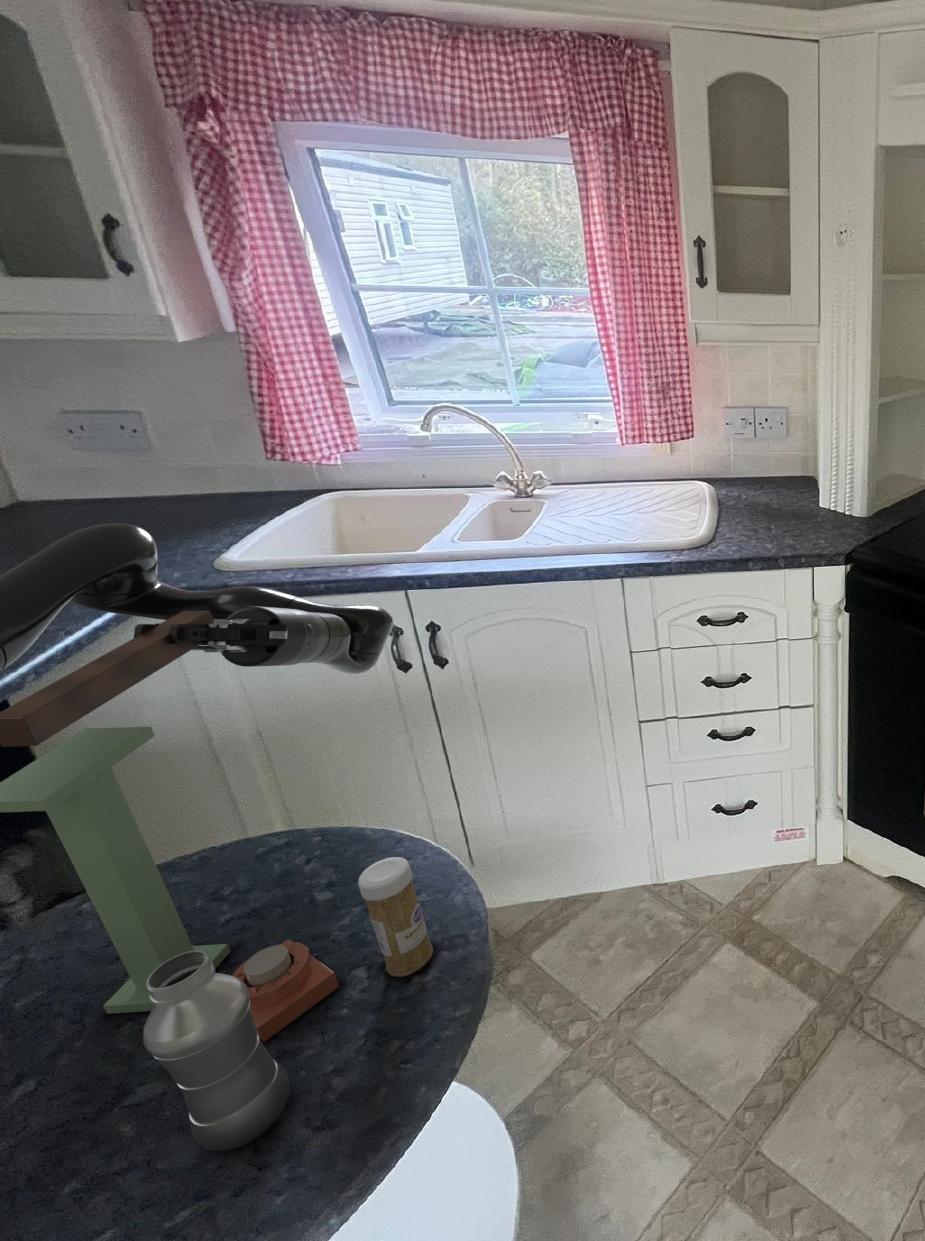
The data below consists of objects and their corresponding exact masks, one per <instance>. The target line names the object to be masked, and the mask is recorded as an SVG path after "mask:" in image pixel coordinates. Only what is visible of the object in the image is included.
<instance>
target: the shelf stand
mask: <svg viewBox="0 0 925 1241" xmlns="http://www.w3.org/2000/svg"><path fill="white" fill-rule="evenodd" d="M155 736H156V735H155V733H154V730H153V729H152V727H151V726H126V727H125V726H124V727H94V728H93V727H86V728H84V729H83V730H81V731H80V732H78V733H76V734H74V735H73V736H71V737H70V738H68V739H67V740H65V741H63V742H62V743H60V744H58V745H57V746H56V747H54V748H53V749H51V750H49V751H48V752H46V753H44V754H43V755H42V756H40V757H38V758H37V759H35V760H33V761H32V762H30V763H28V764H27V765H26V766H24V767H22V768H21V769H20V770H18V771H16V772H15V773H13V774H11V775H10V776H8V777H7V778H5V779H3V780H2V781H0V813H22V812H23V813H24V812H46V814H47V816H48V818H49V820H50V822H51V824H52V826H53V829H54V830H55V833H56V834H57V836H58V838H59V840H60V842H61V844H62V846H63V847H64V849H65V852H66V853H67V855H68V857H69V859H70V861H71V863H72V865H73V868H74V869H75V872H76V873H77V875H78V878H79V879H80V881H81V883H82V885H83V887H84V889H85V891H86V893H87V895H88V897H89V899H90V901H91V903H92V904H93V906H94V909H95V911H96V912H97V915H98V916H99V918H100V920H101V922H102V925H103V926H104V928H105V930H106V932H107V935H108V936H109V938H110V940H111V942H112V945H113V946H114V948H115V950H116V952H117V954H118V957H119V958H120V960H121V962H122V964H123V966H124V967H125V970H126V971H127V974H128V976H129V979H128V980H127V981H126V982H125V983H124V984H123V985H122V986H121V987H120V988H119V989H118V990H117V991H116V992H115V993H114V994H113V995H112V996H111V997H110V998H109V999H108V1000H107V1001H106V1002H105V1003H104V1004H103V1005H102V1007H103V1009H104V1011H105V1012H106V1014H108V1015H110V1014H124V1013H125V1014H126V1013H127V1014H128V1013H141V1012H151V1011H152V1009H153V1008H154V1006H155V1005H153V1004H152V1002H151V1000H150V993H149V991H148V989H147V985H146V983H147V979H148V977H149V976H150V974H151V973H152V972H153V971H154V970H155V969H156V968H157V967H159V966H160V965H161V964H163V963H164V962H166V961H167V960H169V959H171V958H173V957H175V956H177V955H180V954H182V953H185V952H189V951H196V950H198V951H203V952H205V953H206V954H207V955H208V957H209V960H210V962H211V963H213V965H214V968H215V970H216V969H217V968H218V967H219V965H221V963H222V962H223V961H224V959H225V958H226V957H227V956H228V955H229V954H230V953H231V949H230V946H229V944H228V943H223V944H222V943H220V944H219V943H218V944H203V945H193V944H192V942H191V939H190V937H189V935H188V933H187V930H186V929H185V926H184V924H183V922H182V919H181V917H180V915H179V913H178V911H177V909H176V906H175V904H174V902H173V900H172V898H171V895H170V893H169V891H168V889H167V887H166V884H165V883H164V880H163V877H162V876H161V873H160V871H159V869H158V867H157V865H156V862H155V861H154V858H153V856H152V853H151V852H150V849H149V847H148V845H147V842H146V841H145V838H144V835H143V834H142V832H141V829H140V827H139V826H138V822H137V821H136V818H135V816H134V813H133V812H132V809H131V807H130V805H129V803H128V801H127V798H126V796H125V794H124V792H123V790H122V788H121V785H120V783H119V781H118V779H117V776H116V774H115V772H114V770H113V767H114V766H115V765H116V764H118V763H119V762H121V761H122V760H123V759H124V758H126V757H127V756H129V755H130V754H133V752H134V751H135V750H137V749H139V748H140V747H141V746H143V745H145V744H146V743H147V742H149V741H150V740H152V739H153V738H154V737H155Z"/></svg>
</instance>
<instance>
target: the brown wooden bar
mask: <svg viewBox="0 0 925 1241" xmlns="http://www.w3.org/2000/svg"><path fill="white" fill-rule="evenodd" d="M160 623H161V624H159V625H157V626H155V627H153V628H151V629H150V630H148V631H146V632H144V633H142V634H141V635H139V636H137V637H135V638H134V637H133V638H132V639H130V640H127V641H126V642H125V643H123V644H120V645H119V646H117V647H115V648H114V649H111V650H110V651H108V652H106V653H104V654H103V655H101V656H99V657H97V658H95V659H94V660H92V661H90V662H88V663H86V664H84V665H83V666H80V667H79V668H77V669H75V670H73V671H72V672H70V673H68V674H66V675H64V676H62V677H60V678H59V679H57V680H55V681H54V682H51V683H50V684H49V685H47V686H45V687H43V688H41V689H39V690H37V691H35V692H34V693H32V694H30V695H28V696H26V697H25V698H23V699H21V700H19V701H17V702H16V703H14V704H12V705H10V706H9V707H7V708H5V709H3V710H1V711H0V746H1V747H2V748H8V747H9V748H10V747H37V746H39V745H40V744H42V743H43V742H45V741H47V740H49V739H50V738H52V737H53V736H55V735H56V734H58V733H59V732H61V731H62V730H65V729H66V728H68V727H69V726H71V725H72V724H74V723H76V722H77V721H79V720H81V719H82V718H84V717H86V716H87V715H89V714H90V713H92V712H93V711H95V710H97V709H98V708H100V707H101V706H103V705H105V704H106V703H108V702H109V701H111V700H113V699H114V698H116V697H118V696H120V695H121V694H122V693H124V692H126V691H127V690H129V689H130V688H132V687H134V686H135V685H137V684H139V683H141V682H142V681H144V680H145V679H147V678H148V677H150V676H152V675H153V674H156V673H157V672H158V671H160V670H162V669H163V668H165V667H166V666H168V665H169V664H171V663H173V662H174V661H176V660H178V659H179V658H181V657H182V656H184V655H185V654H187V653H189V652H190V651H193V650H192V649H194V648H195V647H197V646H198V645H199V646H201V645H200V644H171V643H170V642H169V636H170V634H169V633H170V627H171V625H172V624H203V625H206V624H210V623H214V620H213V617H212V615H211V612H210V611H182V612H180V613H179V614H177V615H175V616H173V617H171V618H170V619H168V620H163V621H162V622H160Z"/></svg>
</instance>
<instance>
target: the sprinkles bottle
mask: <svg viewBox="0 0 925 1241" xmlns="http://www.w3.org/2000/svg"><path fill="white" fill-rule="evenodd" d="M412 878H413V873H412V869H411V866H410V862H409V861H408V860H407V859H406V858H404V857H400V856H391V857H386V858H383V859H381V860H377V861H376V862H374V863H372V864H371V865H369V866H368V867H367V868H365V869H364V870H363V872H362V873H361V874H360V876H359V877H358V879H357V880H358V881H357V884H358V889H359V892H360V895H361V897H362V898H363V900H364V901H365V903H366V907H367V910H368V913H369V919H370V922H371V925H372V928H373V930H374V934H375V937H376V939H377V940H376V941H377V943H378V946H379V949H380V952H381V953H382V955H383V958H384V962H385V966H386V967H385V968H386V972H387V973H388V975H390V976H392V977H398V978H399V977H401V978H402V977H406V976H410V975H411V974H414V973H415V972H418V971H420V970H421V969H422V968H424V966H425V965H426V964H427V963H428V962H429V961H430V960H431V958H432V957H433V954H434V948H433V945H432V943H431V941H430V937H429V935H428V931H427V930H428V929H427V925H426V921H425V918H424V915H423V911H422V909H421V906H420V903H419V899H418V896H417V893H416V890H415V887H414V884H413V880H412Z"/></svg>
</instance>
